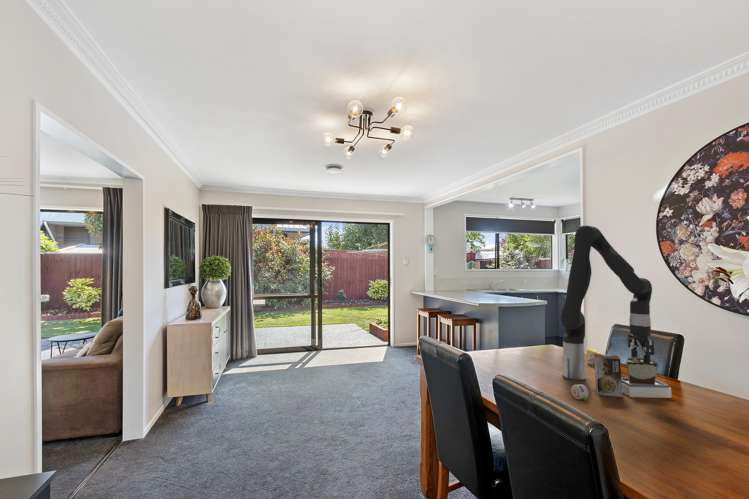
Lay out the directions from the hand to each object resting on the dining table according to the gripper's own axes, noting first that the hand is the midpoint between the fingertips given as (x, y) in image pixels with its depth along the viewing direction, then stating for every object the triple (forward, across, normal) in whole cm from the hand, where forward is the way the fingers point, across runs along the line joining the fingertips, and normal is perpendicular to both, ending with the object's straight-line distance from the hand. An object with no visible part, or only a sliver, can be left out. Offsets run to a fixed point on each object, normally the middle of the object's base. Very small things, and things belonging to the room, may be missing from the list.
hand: (640, 361), depth 159 cm
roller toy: (+14, +9, -30) cm, 34 cm away
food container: (+9, -2, 0) cm, 10 cm away
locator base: (+14, 0, 0) cm, 14 cm away
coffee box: (+14, +2, -15) cm, 20 cm away
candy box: (+14, -40, +2) cm, 42 cm away
